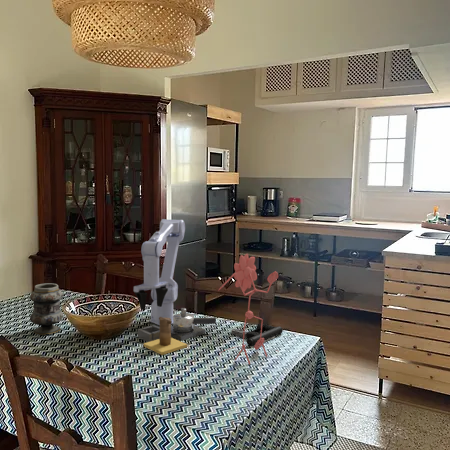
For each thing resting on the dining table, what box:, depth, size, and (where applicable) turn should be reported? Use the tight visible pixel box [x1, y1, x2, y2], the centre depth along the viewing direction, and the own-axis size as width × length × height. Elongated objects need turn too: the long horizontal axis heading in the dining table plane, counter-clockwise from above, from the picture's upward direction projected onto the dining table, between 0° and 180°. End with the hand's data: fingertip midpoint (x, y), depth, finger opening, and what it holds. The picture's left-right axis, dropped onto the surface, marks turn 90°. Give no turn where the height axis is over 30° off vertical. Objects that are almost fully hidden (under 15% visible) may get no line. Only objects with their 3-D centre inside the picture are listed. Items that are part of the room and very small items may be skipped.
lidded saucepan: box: [172, 307, 217, 332], centre depth 175 cm, size 16×8×8 cm, turn 96°
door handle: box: [231, 323, 283, 347], centre depth 173 cm, size 3×20×16 cm
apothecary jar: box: [29, 283, 64, 336], centre depth 174 cm, size 12×12×18 cm
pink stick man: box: [218, 253, 280, 365], centre depth 152 cm, size 15×26×35 cm, turn 137°
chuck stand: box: [171, 324, 206, 341], centre depth 175 cm, size 12×12×2 cm
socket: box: [137, 324, 160, 343], centre depth 169 cm, size 8×8×3 cm
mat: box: [143, 337, 188, 356], centre depth 160 cm, size 11×11×1 cm
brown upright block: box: [159, 317, 172, 346], centre depth 160 cm, size 6×4×9 cm, turn 44°
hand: (151, 308), depth 172 cm, fingers open, 7 cm apart
